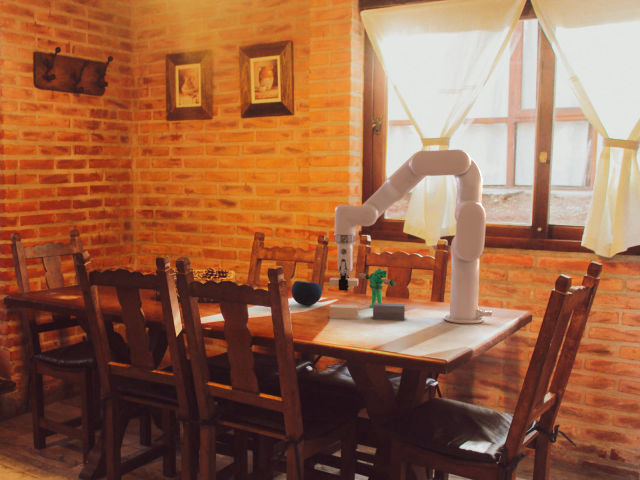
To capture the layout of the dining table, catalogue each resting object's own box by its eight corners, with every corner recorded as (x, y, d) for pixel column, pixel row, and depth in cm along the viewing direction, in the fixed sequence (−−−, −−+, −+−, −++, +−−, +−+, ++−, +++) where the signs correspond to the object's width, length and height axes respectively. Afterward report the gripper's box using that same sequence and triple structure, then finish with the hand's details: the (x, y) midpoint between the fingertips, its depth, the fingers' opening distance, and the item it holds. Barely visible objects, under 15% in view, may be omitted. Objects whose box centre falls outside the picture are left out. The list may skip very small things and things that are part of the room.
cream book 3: (358, 315, 274) (358, 310, 274) (357, 318, 268) (357, 313, 268) (330, 314, 276) (330, 309, 276) (329, 317, 271) (329, 312, 270)
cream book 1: (358, 283, 273) (358, 278, 273) (357, 286, 267) (357, 280, 267) (330, 282, 275) (330, 277, 275) (329, 285, 269) (329, 279, 269)
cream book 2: (358, 310, 274) (358, 305, 274) (357, 313, 268) (357, 308, 268) (330, 309, 276) (330, 304, 276) (329, 312, 270) (329, 307, 270)
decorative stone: (320, 308, 288) (321, 283, 287) (290, 308, 290) (290, 282, 289) (322, 303, 300) (322, 278, 299) (292, 302, 302) (292, 278, 300)
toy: (404, 313, 279) (405, 273, 277) (390, 314, 276) (390, 274, 274) (368, 302, 302) (368, 265, 301) (354, 303, 300) (354, 266, 298)
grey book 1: (404, 310, 270) (404, 304, 270) (404, 313, 265) (404, 306, 265) (373, 309, 272) (373, 303, 272) (373, 312, 268) (373, 305, 267)
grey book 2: (404, 317, 270) (404, 310, 270) (404, 320, 266) (404, 313, 265) (373, 316, 273) (373, 309, 272) (372, 319, 268) (373, 312, 268)
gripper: (354, 241, 260) (352, 293, 262) (356, 237, 276) (355, 285, 279) (332, 241, 261) (331, 292, 264) (336, 237, 278) (335, 285, 280)
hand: (343, 288), depth 271 cm, fingers closed on cream book 1, 6 cm apart
